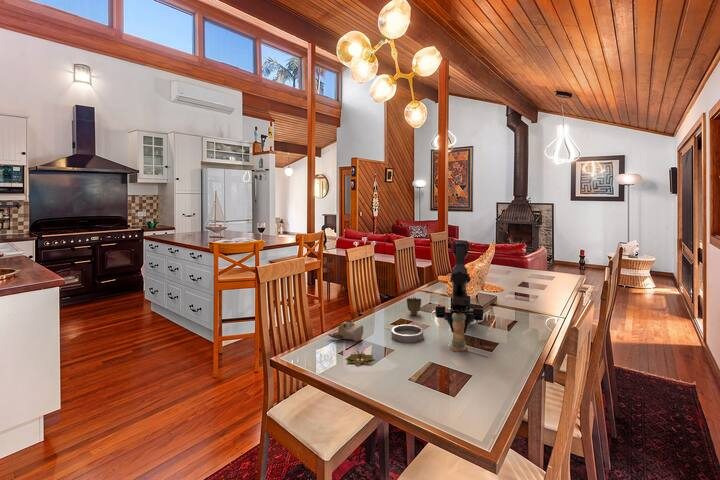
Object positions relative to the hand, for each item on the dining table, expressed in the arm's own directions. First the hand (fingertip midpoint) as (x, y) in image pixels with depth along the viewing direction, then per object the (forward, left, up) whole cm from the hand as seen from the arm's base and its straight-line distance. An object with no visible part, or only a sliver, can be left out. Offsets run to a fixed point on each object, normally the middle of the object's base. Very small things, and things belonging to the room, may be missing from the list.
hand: (458, 332), depth 151 cm
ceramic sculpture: (+37, -28, -7) cm, 47 cm away
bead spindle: (-1, -1, -7) cm, 7 cm away
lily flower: (+39, -6, -8) cm, 40 cm away
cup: (-5, -46, -7) cm, 47 cm away
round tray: (+12, -20, -7) cm, 25 cm away
